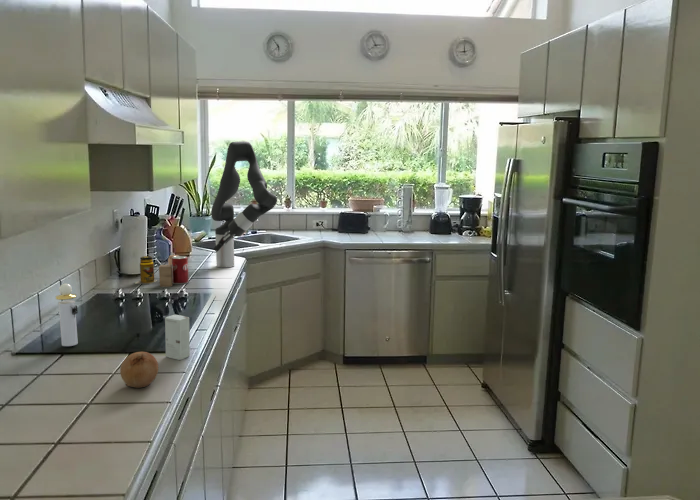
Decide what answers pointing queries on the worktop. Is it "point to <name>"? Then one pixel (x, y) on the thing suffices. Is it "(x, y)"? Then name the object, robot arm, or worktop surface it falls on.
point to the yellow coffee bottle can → (146, 270)
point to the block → (165, 275)
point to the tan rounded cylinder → (170, 259)
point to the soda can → (180, 270)
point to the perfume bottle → (67, 316)
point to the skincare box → (177, 337)
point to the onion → (139, 369)
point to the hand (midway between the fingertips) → (215, 250)
